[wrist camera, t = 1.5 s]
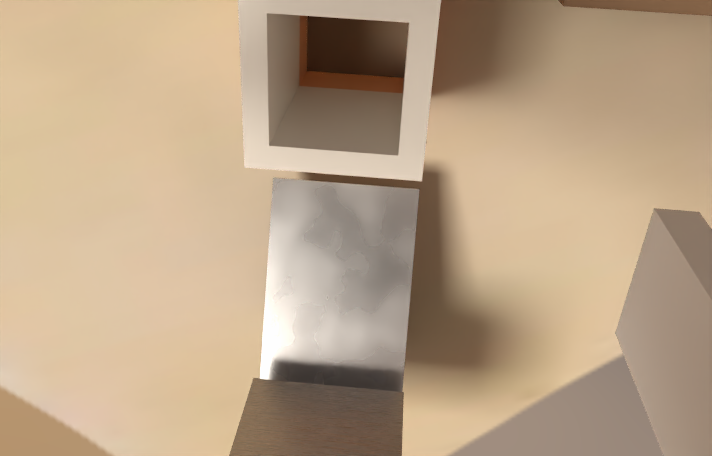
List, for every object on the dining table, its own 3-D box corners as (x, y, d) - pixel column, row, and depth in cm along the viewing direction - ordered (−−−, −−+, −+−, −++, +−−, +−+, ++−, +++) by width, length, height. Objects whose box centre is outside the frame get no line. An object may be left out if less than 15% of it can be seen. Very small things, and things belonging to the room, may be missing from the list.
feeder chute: (283, 155, 30) (209, 321, 19) (419, 165, 29) (418, 340, 19) (284, 358, 36) (228, 571, 25) (398, 369, 35) (389, 589, 25)
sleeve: (287, -56, 25) (237, -19, 19) (435, -47, 25) (441, -6, 18) (287, 88, 28) (244, 167, 21) (421, 98, 28) (421, 181, 21)
